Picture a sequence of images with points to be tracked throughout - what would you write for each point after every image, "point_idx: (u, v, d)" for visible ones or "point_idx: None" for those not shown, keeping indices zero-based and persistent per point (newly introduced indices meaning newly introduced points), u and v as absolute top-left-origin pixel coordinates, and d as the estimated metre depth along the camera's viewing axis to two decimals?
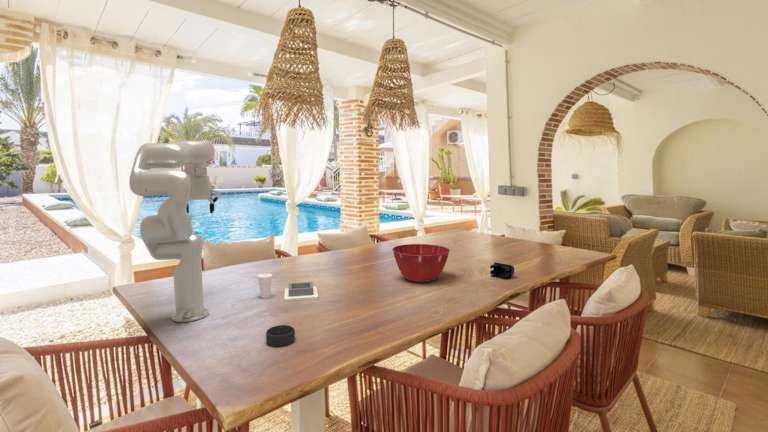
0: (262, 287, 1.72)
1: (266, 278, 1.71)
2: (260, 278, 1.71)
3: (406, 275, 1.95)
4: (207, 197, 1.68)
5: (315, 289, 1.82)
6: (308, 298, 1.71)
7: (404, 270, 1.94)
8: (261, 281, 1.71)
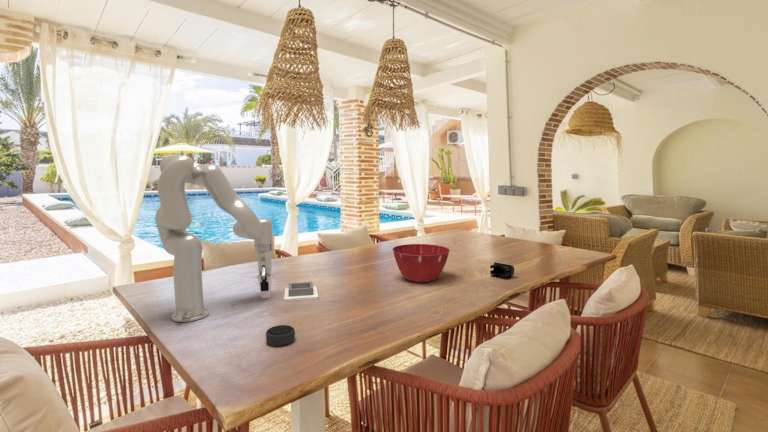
0: None
1: None
2: (260, 278, 1.71)
3: (406, 275, 1.95)
4: None
5: (315, 289, 1.82)
6: (308, 298, 1.71)
7: (404, 270, 1.94)
8: None
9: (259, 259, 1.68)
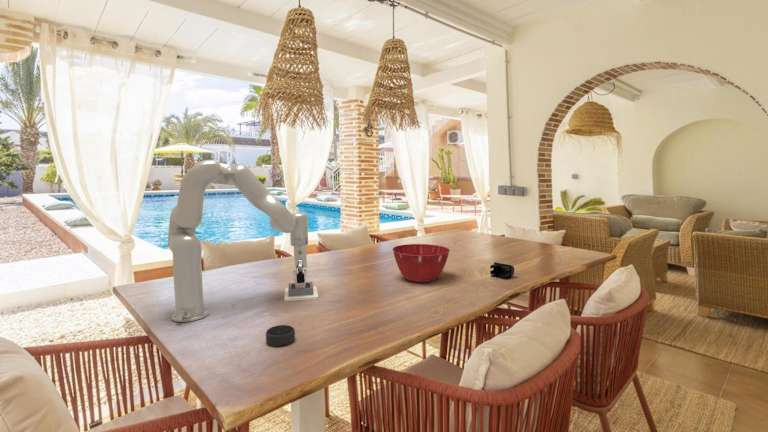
0: None
1: None
2: (295, 273, 1.74)
3: (406, 275, 1.95)
4: None
5: (315, 289, 1.82)
6: (308, 298, 1.71)
7: (404, 270, 1.94)
8: (296, 276, 1.74)
9: (296, 253, 1.71)
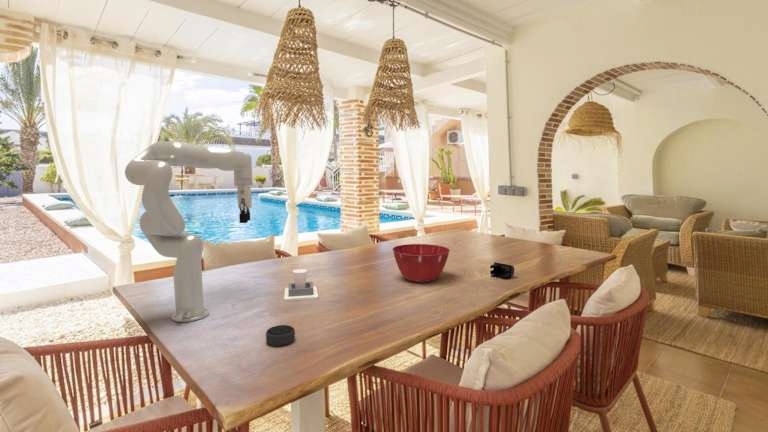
0: (297, 282, 1.75)
1: (301, 273, 1.74)
2: (296, 273, 1.74)
3: (406, 275, 1.95)
4: None
5: (315, 289, 1.82)
6: (308, 298, 1.71)
7: (404, 270, 1.94)
8: (296, 276, 1.74)
9: (238, 192, 1.71)
